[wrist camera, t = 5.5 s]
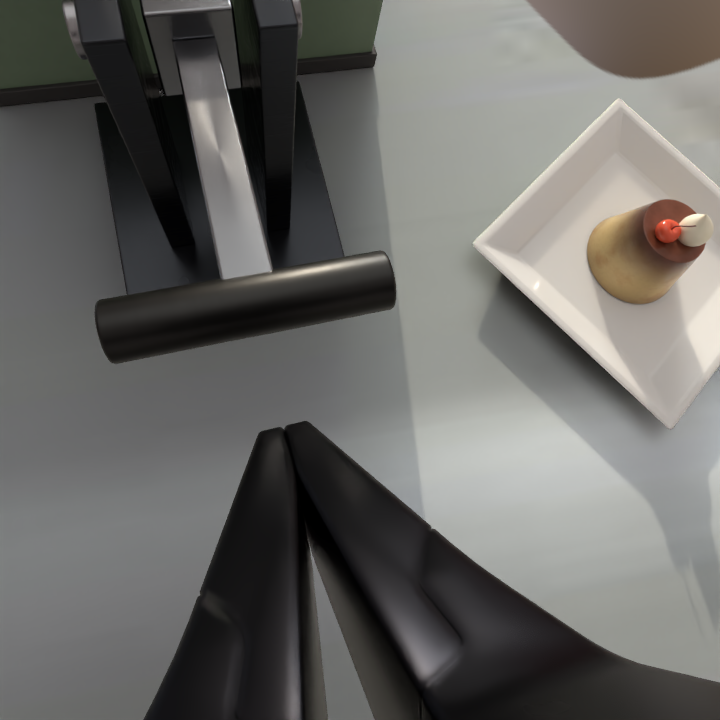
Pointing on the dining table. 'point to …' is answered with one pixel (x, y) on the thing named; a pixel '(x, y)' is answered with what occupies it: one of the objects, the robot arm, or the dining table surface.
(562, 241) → the dessert
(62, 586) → the dining table surface
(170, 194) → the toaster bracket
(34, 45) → the toaster body
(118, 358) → the lever
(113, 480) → the dining table surface
